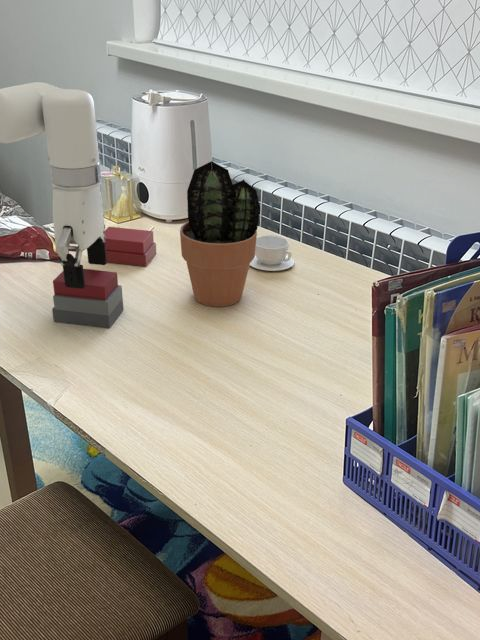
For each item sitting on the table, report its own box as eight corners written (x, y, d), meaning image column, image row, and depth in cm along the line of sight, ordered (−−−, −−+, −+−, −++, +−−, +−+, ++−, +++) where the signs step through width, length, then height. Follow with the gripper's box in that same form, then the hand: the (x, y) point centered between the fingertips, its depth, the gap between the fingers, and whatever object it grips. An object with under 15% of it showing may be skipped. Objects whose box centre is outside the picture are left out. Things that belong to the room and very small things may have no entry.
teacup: (236, 263, 143) (236, 242, 140) (265, 249, 150) (266, 229, 147) (275, 277, 138) (276, 255, 135) (303, 262, 144) (305, 241, 142)
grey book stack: (53, 322, 118) (49, 295, 115) (70, 303, 124) (67, 278, 122) (109, 328, 117) (107, 302, 114) (124, 310, 123) (122, 284, 120)
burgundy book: (54, 294, 116) (52, 280, 115) (68, 279, 121) (67, 266, 120) (105, 300, 115) (104, 286, 114) (118, 285, 120) (117, 272, 119)
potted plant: (216, 320, 121) (217, 179, 108) (166, 295, 129) (161, 160, 116) (269, 297, 130) (276, 164, 117) (219, 274, 137) (220, 148, 125)
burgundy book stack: (98, 261, 141) (96, 238, 138) (110, 248, 146) (108, 226, 144) (146, 266, 139) (144, 243, 137) (156, 253, 145) (155, 231, 143)
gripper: (75, 158, 116) (85, 254, 124) (27, 188, 101) (43, 294, 109) (118, 161, 115) (125, 257, 123) (76, 192, 100) (88, 299, 109)
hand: (86, 275), depth 116 cm, fingers open, 9 cm apart
